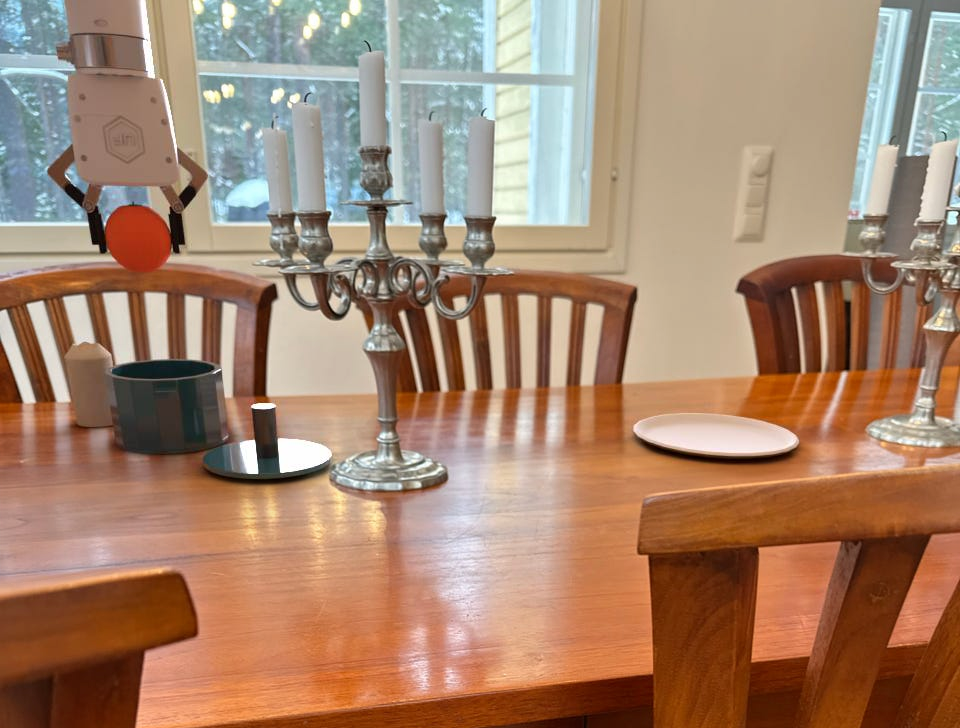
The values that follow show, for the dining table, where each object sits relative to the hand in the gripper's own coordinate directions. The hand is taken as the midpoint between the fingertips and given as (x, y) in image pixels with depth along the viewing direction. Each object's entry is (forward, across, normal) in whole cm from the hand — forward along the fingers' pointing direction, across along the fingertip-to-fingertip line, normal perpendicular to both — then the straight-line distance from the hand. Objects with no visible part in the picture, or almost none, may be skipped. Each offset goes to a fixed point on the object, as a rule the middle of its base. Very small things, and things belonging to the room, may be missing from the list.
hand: (140, 251), depth 98 cm
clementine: (+2, 0, 0) cm, 2 cm away
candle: (+22, -8, +13) cm, 27 cm away
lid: (+21, +11, -12) cm, 26 cm away
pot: (+22, +1, +2) cm, 22 cm away
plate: (+22, +67, -14) cm, 72 cm away
